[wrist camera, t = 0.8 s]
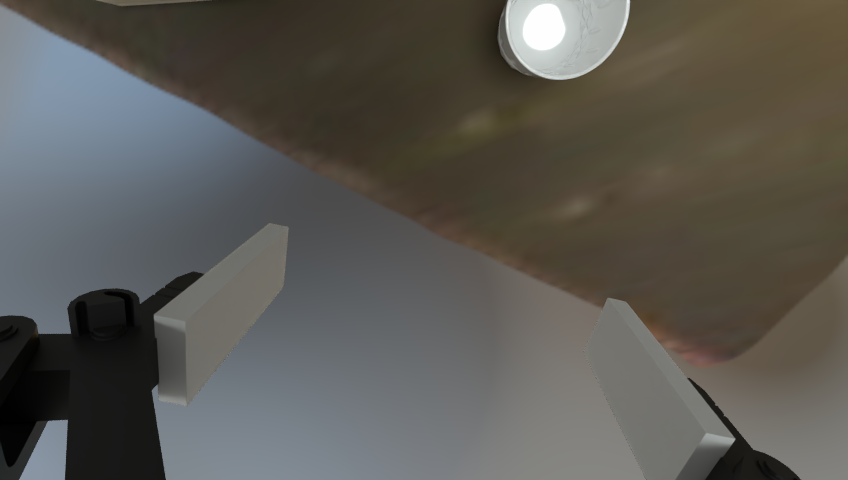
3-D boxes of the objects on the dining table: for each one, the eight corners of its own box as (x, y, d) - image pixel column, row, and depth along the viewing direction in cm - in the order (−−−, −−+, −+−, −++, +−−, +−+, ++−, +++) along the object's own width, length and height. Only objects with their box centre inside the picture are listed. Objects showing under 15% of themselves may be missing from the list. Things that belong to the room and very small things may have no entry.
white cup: (491, 85, 37) (506, 85, 27) (489, -14, 34) (504, -51, 25) (578, 77, 36) (624, 74, 27) (583, -24, 33) (636, -67, 24)
